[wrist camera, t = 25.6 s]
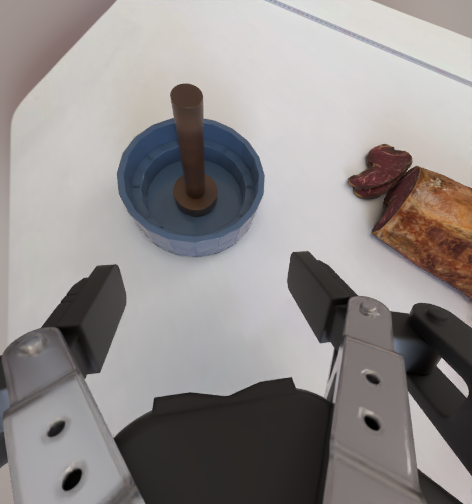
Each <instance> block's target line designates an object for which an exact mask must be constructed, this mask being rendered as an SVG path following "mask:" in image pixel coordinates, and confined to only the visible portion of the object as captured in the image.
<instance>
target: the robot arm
mask: <svg viewBox="0 0 472 504" xmlns="http://www.w3.org/2000/svg"><path fill="white" fill-rule="evenodd" d="M287 283H288V288H289V291H290V293H291V294H292V296H293V298H294V300H295V301H296V303H297V305H298V306H299V308H300V310H301V312H302V313H303V315H304V317H305V319H306V320H307V322H308V324H309V325H310V327H311V329H312V331H313V332H314V334H315V336H316V337H317V339H318V341H319V343H326V342H331V343H332V345H333V347H334V350H333V354H332V360H331V365H330V370H329V375H328V380H327V385H326V390H325V394H324V397H322V396H319V395H317V394H315V393H312V392H310V391H306V390H302V389H297V388H296V387H295V385H294V382H293V380H292V377H290V378H283V379H277V380H270V381H263V382H259V383H257V384H254V385H252V386H250V387H248V388H245V389H243V390H241V391H238V392H236V393H234V394H232V395H229V396H218V395H209V394H200V393H191V392H189V393H183V394H176V395H169V396H162V397H156V398H154V403H153V409H152V411H150V412H148V413H146V414H144V415H142V416H140V417H139V418H137V419H136V420H134V421H133V422H131V423H130V424H129V425H127V426H126V427H125V428H124V429H123V430H121V431H120V432H119V433H118V434H117V435H116V436H115V437H114V438H113V437H112V435H111V433H110V431H109V429H108V427H107V425H106V423H105V421H104V418H103V416H102V414H101V412H100V410H99V408H98V406H97V404H96V402H95V400H94V398H93V396H92V394H91V392H90V390H89V388H88V386H87V384H86V382H85V378H86V375H87V374H93V373H100V371H101V369H102V366H103V364H104V361H105V358H106V356H107V353H108V351H109V348H110V345H111V343H112V340H113V338H114V335H115V332H116V330H117V327H118V325H119V322H120V319H121V317H122V314H123V312H124V309H125V306H126V292H125V288H124V284H123V281H122V277H121V273H120V269H119V267H118V265H116V264H115V265H100V266H96V268H95V269H94V270H93V272H92V273H91V275H90V276H89V277H88V278H83V279H82V280H81V281H79V282H78V283H76V284H75V285H73V287H72V288H71V289H70V290H69V292H68V293H67V296H65V297H64V298H63V300H62V301H61V304H59V305H58V306H57V307H56V309H55V310H54V311H53V313H52V314H51V315H50V317H49V318H48V319H47V321H46V322H45V323H44V324H43V326H42V327H41V328H40V329H36V330H33V331H31V332H28V333H26V334H24V335H23V336H21V337H19V338H18V339H16V340H15V341H14V342H12V343H11V344H10V345H9V346H8V347H7V348H6V350H5V351H4V353H3V355H1V356H0V440H1V438H2V437H3V435H5V442H6V449H7V456H8V463H9V470H10V477H11V484H12V491H13V498H14V504H463V503H461V502H460V501H459V500H458V499H456V498H455V497H454V496H452V495H451V494H450V493H449V492H447V491H446V490H445V489H443V488H442V487H441V486H439V485H438V484H437V483H436V482H434V481H433V480H432V479H430V478H429V477H428V476H427V475H425V474H424V473H423V472H421V471H420V470H419V469H418V468H417V463H416V455H415V447H414V438H413V430H412V422H411V414H410V405H409V397H408V392H409V393H410V394H411V396H412V397H413V398H414V400H415V401H416V402H417V404H418V405H419V406H420V408H421V409H422V410H423V412H424V413H425V414H426V416H427V417H428V418H429V420H430V421H431V422H432V424H433V425H434V426H435V428H436V429H437V430H438V432H439V433H440V434H441V436H442V437H443V438H444V440H445V441H446V442H447V444H448V445H449V446H450V448H451V449H452V450H453V452H454V453H455V454H456V456H457V457H458V458H459V460H460V461H461V462H462V464H463V465H464V466H465V467H466V469H467V470H468V471H469V473H470V474H471V475H472V328H471V327H469V326H468V325H467V324H465V323H464V322H463V321H462V320H460V319H459V318H458V317H456V316H455V315H454V314H452V313H451V312H449V311H447V310H445V309H443V308H441V307H439V306H436V305H432V304H428V303H418V304H415V305H414V306H413V307H412V309H411V312H410V314H407V313H400V312H392V311H390V310H389V309H388V308H387V307H386V306H385V305H384V304H383V303H381V302H379V301H378V300H375V299H373V298H370V297H365V296H358V295H357V294H356V293H355V292H354V291H353V290H352V289H351V288H350V287H349V286H348V285H347V284H346V283H345V282H344V281H343V280H342V279H341V278H340V277H339V276H338V275H337V274H336V273H335V271H334V270H333V269H332V268H331V267H330V266H329V265H327V264H325V263H323V262H322V261H320V260H316V259H315V258H314V257H313V255H312V254H311V253H310V252H309V251H302V252H293V253H292V254H291V257H290V264H289V271H288V279H287ZM441 358H443V359H444V360H445V361H446V362H447V363H448V364H449V365H450V366H451V367H452V368H453V369H454V370H455V371H456V372H457V373H458V374H459V375H460V376H461V377H462V378H463V379H464V381H465V382H466V384H467V386H468V389H469V395H468V397H467V398H466V397H465V396H464V395H463V394H462V393H461V392H460V390H459V389H458V388H457V387H456V386H455V385H454V384H453V383H452V382H451V381H450V380H449V379H448V378H447V377H446V376H445V375H444V374H443V373H442V371H441V370H440V369H439V368H438V367H437V366H436V365H437V364H438V362H439V361H440V359H441Z"/></svg>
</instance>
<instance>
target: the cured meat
mask: <svg viewBox="0 0 472 504" xmlns="http://www.w3.org/2000/svg"><path fill="white" fill-rule="evenodd" d="M411 165H412V156H411V155H410V154H409V153H407V152H406V151H400V150H394V147H391V146H389V145H387V144H382V145H380V146H377V147H375V148H373V149H372V150H371V151H370V152H369V154H368V166H369V167H370V168H368V169H366V170H365V171H363V172H362V173H361V174H360V175H353V176H351V177H350V178H348V183H349V184H350V185H351V186H353V187H355V189H354V193H355V194H356V195H357V196H359V197H361V198H363V199H369V198H375V197H377V196H380V195H382V194H384V193H386V192H387V191H388V190H389V192H388V193H387V195H386V197H385V199H384V203H386V204H388V206H387V208H386V209H385V211H384V213H383V215H382V217H381V219H380V221H379V222H378V223H377V224H376V225H375V227H374V229H373V231H372V234H373V235H375V236H376V237H378V238H379V239H380V240H382V241H383V242H385V243H386V244H388V245H389V246H391V247H392V248H394V249H395V250H396V251H398V252H399V253H400V254H402V255H403V256H405V257H406V258H407V259H409V260H410V261H412V262H413V263H414V264H416V265H417V266H419V267H421V268H422V269H424V270H426V271H427V272H429V273H431V274H433V275H434V276H436V277H438V278H440V279H442V280H443V281H445V282H447V283H449V284H450V285H452V286H453V287H455V288H456V289H458V290H459V291H461V292H462V293H464V294H465V295H467V296H468V297H470V298H471V299H472V188H470V187H467V186H464V185H462V184H460V183H458V182H456V181H454V180H452V179H450V178H448V177H446V176H444V175H441V174H438V173H435V172H432V171H429V170H427V169H424V168H421V167H419V166H415V167H413V168H411V169H410V170H409V171H408V172H406V171H407V170H408V168H409V167H410V166H411Z"/></svg>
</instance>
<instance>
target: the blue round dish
mask: <svg viewBox="0 0 472 504" xmlns="http://www.w3.org/2000/svg"><path fill="white" fill-rule="evenodd" d="M204 164H205V174H206V175H208V176H209V177H211V178H212V179H213V181H214V182H215V184H216V186H217V203H216V206H215V207H214V209H213V210H212V211H211V212H210V213H208V214H207V215H204V216H200V217H192V216H189V215H186V214H184V213H183V212H182V211H181V210H180V209H179V208H178V206H177V204H176V201H175V198H174V193H173V188H174V185H175V182H176V181H177V180H178V178H180V177H181V176H182V175H183V169H182V163H181V157H180V151H179V145H178V139H177V133H176V127H175V121H174V118H172V119H169V120H166V121H163V122H160V123H157V124H154V125H152V126H150V127H149V128H147V129H146V130H145V131H143V132H142V133H140V134H139V135H137V136H136V137H135V138H134V139H133V140H132V142H131V143H130V144H129V146H128V147H127V148H126V150H125V151H124V152H123V154H122V158H121V161H120V164H119V168H118V171H117V179H118V189H119V195H120V197H121V199H122V201H123V203H124V205H125V207H126V208H127V210H128V212H129V214H130V215H131V217H132V218H133V219H134V221H135V222H136V224H137V225H138V226H139V228H140V229H141V231H142V232H143V233H144V234H145V235H146V236H147V237H148V238H149V239H150V240H152V241H153V242H154V243H155V244H156V245H157V246H159V247H161V248H163V249H165V250H168V251H170V252H172V253H174V254H178V255H186V256H195V257H199V256H204V255H210V254H215V253H218V252H220V251H222V250H224V249H226V248H228V247H230V246H232V245H233V244H235V243H236V242H237V241H238V240H239V239H240V238H241V237H242V236H243V235H244V234H245V233H246V232H247V230H248V228H249V226H250V224H251V222H252V219H253V217H254V215H255V213H256V210H257V208H258V206H259V203H260V201H261V199H262V196H263V193H264V177H265V175H264V172H263V169H262V165H261V162H260V158H259V156H258V155H257V153H256V152H255V150H254V149H253V148H252V146H251V145H250V143H249V142H248V141H247V140H246V139H245V138H244V137H242V136H241V135H240V134H238V133H237V132H236V131H235V130H233V129H232V128H230V127H228V126H225V125H223V124H221V123H219V122H216V121H213V120H209V119H204Z"/></svg>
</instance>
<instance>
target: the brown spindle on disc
mask: <svg viewBox="0 0 472 504" xmlns="http://www.w3.org/2000/svg"><path fill="white" fill-rule="evenodd" d="M170 97H171V103H172V109H173V115H174V121H175V127H176V133H177V139H178V145H179V151H180V157H181V163H182V169H183V175H182V176H181V177H180V178H178V180H177V181H176V182H175V185H174V188H173V193H174V198H175V201H176V204H177V206H178V208H179V209H180V210H181V211H182V212H183V213H184V214H186V215H189V216H192V217H200V216H204V215H207V214H208V213H210V212H211V211H212V210H213V209H214V207H215V206H216V203H217V186H216V184H215V182H214V181H213V179H212V178H211V177H209V176H208V175H206V174H205V164H204V118H203V94H202V92H201V90H200V89H199V88H197V87H196V86H194V85H191V84H180V85H177V86H175V87H174V88H173V89H172V91H171V94H170Z"/></svg>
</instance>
